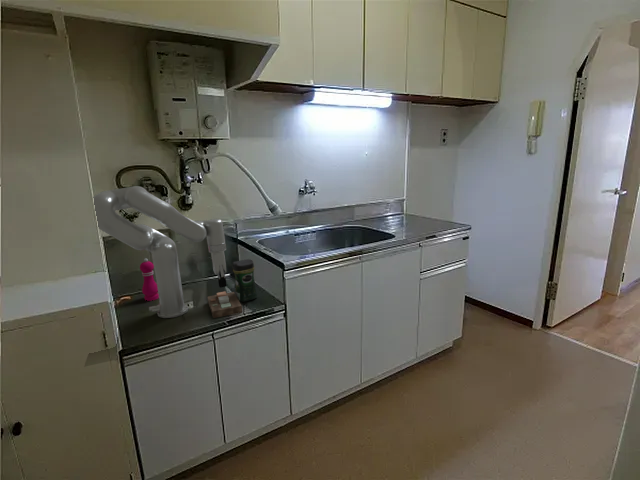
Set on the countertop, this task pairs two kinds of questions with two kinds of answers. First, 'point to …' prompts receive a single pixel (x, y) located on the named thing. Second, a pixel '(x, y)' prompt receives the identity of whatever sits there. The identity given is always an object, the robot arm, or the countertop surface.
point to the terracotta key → (221, 294)
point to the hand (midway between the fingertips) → (222, 286)
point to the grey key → (223, 299)
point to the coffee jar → (244, 280)
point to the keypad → (219, 312)
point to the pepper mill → (149, 281)
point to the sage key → (225, 305)
